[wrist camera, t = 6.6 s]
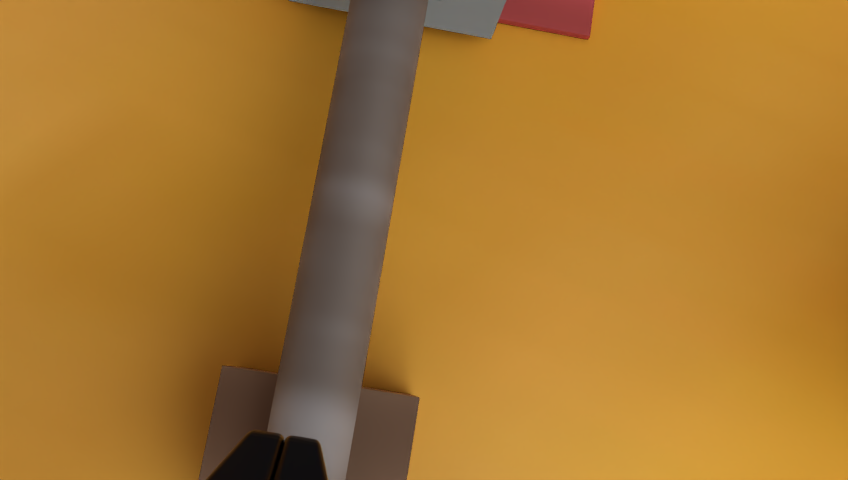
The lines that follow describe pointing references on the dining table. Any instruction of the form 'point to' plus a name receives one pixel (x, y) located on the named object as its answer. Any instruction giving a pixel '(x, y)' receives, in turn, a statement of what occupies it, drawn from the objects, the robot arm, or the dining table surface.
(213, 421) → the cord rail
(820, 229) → the dining table surface
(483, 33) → the sleeve
